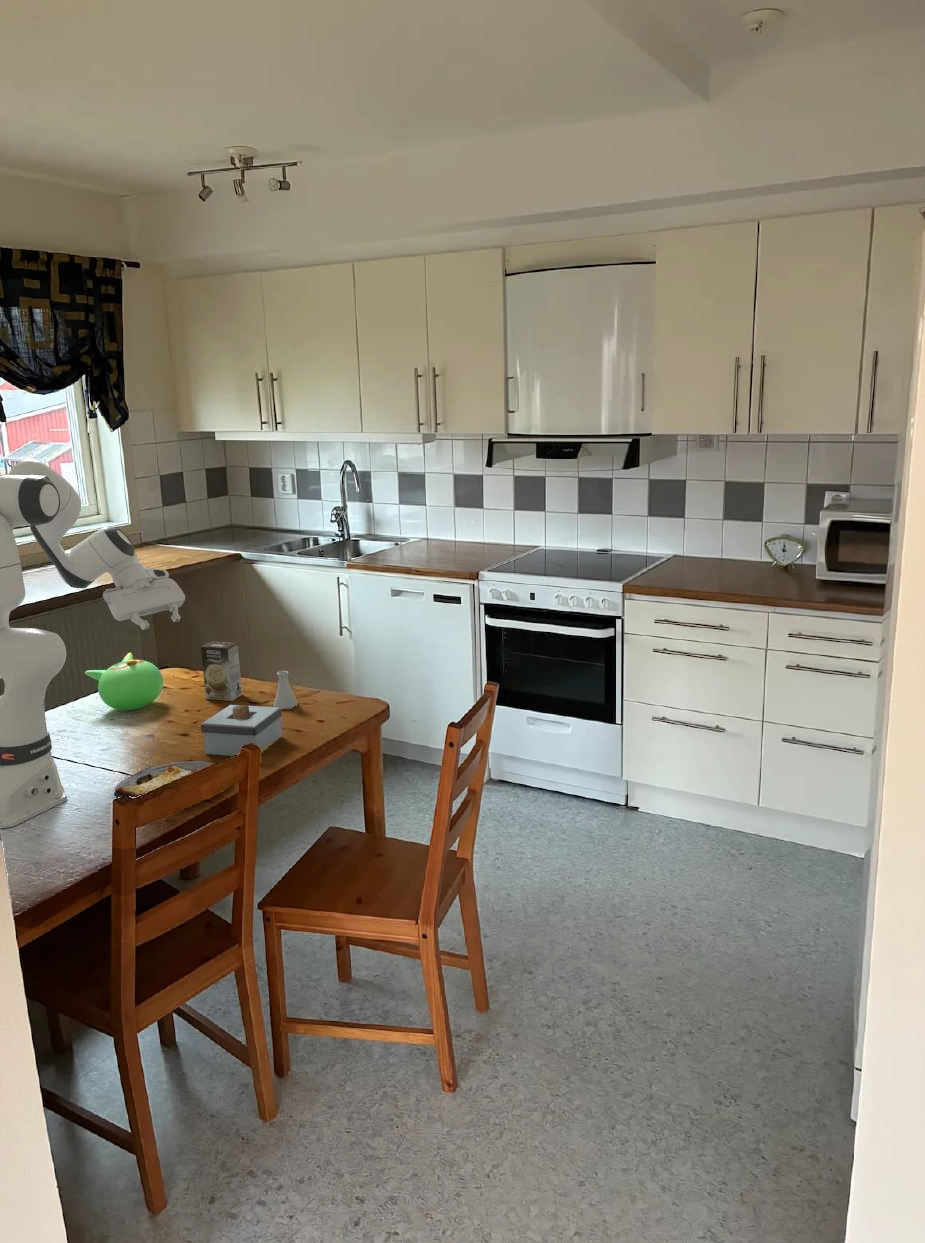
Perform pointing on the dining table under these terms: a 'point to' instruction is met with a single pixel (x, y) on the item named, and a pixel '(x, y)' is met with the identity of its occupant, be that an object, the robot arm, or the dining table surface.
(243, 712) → the beige cylinder
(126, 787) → the food plate
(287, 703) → the flask
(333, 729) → the dining table surface
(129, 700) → the toy bird
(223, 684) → the coffee box
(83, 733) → the dining table surface
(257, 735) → the collar block
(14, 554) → the robot arm
